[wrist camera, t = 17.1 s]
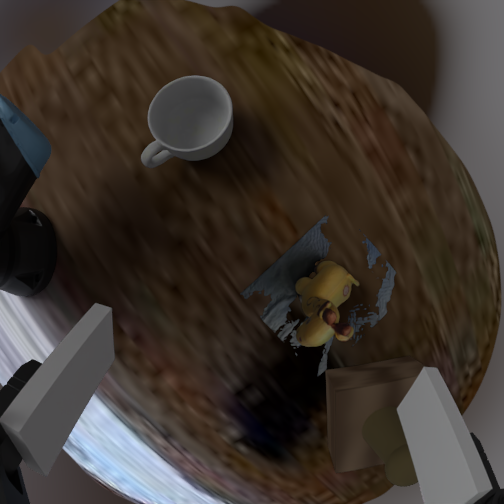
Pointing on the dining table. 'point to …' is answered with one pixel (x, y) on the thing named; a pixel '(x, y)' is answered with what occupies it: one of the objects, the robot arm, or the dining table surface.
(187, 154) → the teacup
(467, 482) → the robot arm
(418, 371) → the walnut block
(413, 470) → the cork
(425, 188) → the dining table surface
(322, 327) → the stuffed giraffe
